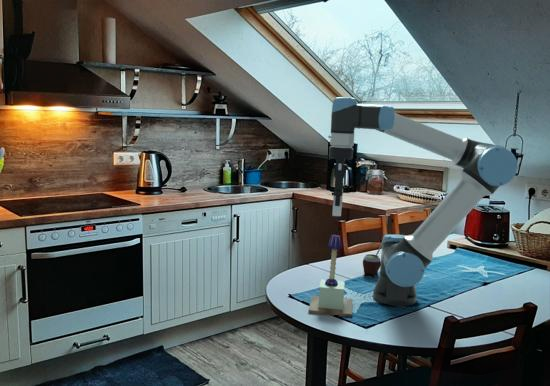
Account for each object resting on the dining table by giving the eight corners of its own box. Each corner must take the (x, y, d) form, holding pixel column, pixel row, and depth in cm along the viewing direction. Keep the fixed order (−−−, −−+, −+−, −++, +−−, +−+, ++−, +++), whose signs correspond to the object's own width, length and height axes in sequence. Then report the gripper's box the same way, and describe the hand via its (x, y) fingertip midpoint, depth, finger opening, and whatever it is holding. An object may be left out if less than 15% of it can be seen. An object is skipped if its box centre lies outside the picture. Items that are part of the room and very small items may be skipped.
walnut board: (351, 301, 189) (352, 298, 188) (352, 317, 175) (352, 314, 175) (311, 297, 190) (311, 295, 190) (308, 313, 177) (308, 310, 177)
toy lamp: (330, 280, 185) (333, 233, 182) (342, 284, 182) (345, 235, 179) (322, 284, 181) (325, 235, 178) (334, 287, 178) (337, 238, 175)
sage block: (343, 301, 186) (344, 281, 185) (342, 309, 178) (344, 289, 177) (319, 299, 187) (320, 279, 186) (318, 307, 179) (319, 287, 178)
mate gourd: (358, 273, 221) (361, 237, 219) (376, 271, 224) (379, 236, 221) (367, 278, 214) (370, 241, 212) (385, 277, 217) (388, 241, 214)
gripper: (331, 143, 186) (327, 203, 190) (328, 148, 162) (323, 218, 166) (353, 144, 185) (349, 205, 189) (353, 150, 161) (348, 220, 165)
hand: (337, 211), depth 177 cm, fingers open, 13 cm apart
